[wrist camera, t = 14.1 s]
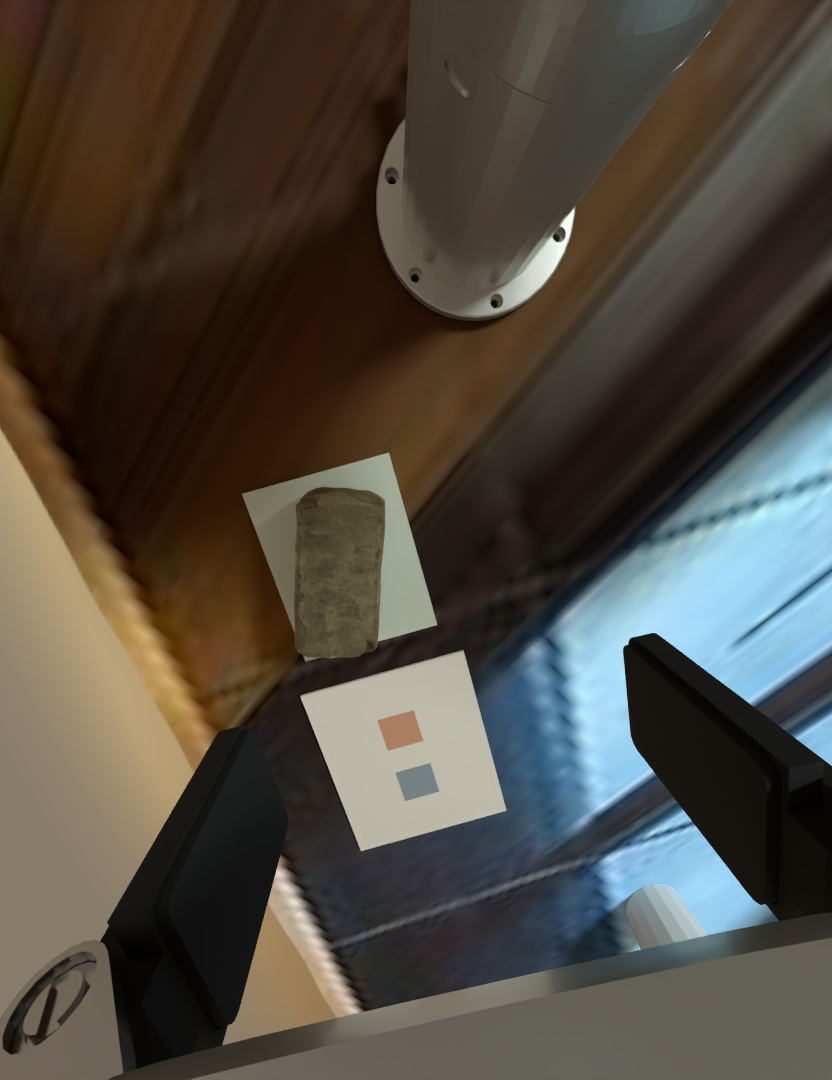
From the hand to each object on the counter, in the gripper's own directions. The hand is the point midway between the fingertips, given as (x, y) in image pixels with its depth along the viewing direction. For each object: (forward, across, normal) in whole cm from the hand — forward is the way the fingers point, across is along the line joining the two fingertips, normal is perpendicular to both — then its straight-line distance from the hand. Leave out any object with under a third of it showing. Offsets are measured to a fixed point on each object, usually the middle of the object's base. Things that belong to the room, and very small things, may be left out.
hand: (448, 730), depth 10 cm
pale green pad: (+21, +6, +1) cm, 22 cm away
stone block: (+21, +5, +1) cm, 22 cm away
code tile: (+21, +5, +20) cm, 29 cm away
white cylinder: (+21, -16, +44) cm, 51 cm away
